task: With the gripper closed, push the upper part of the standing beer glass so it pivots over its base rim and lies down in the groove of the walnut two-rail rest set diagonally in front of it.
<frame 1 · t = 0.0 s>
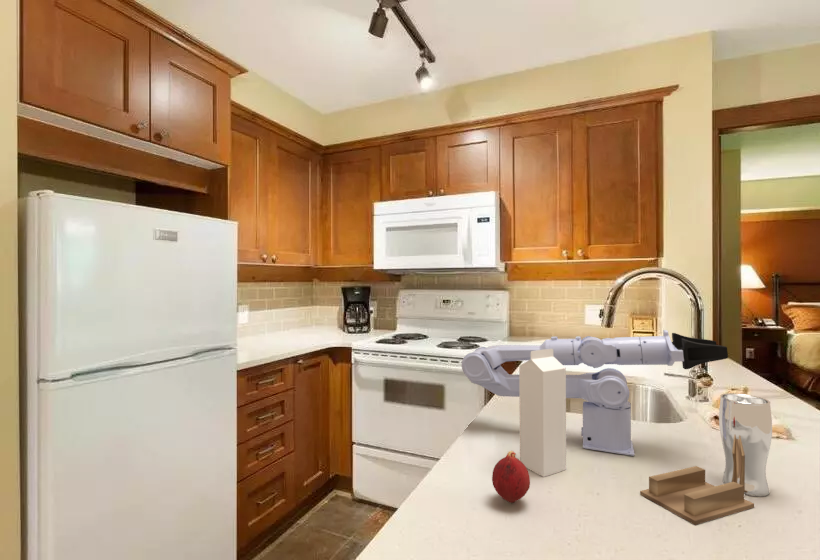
hand: (721, 349, 79), 22 cm above the counter, tool horizontal, fingers open, 7 cm apart
milk: (542, 468, 77), on the counter
beer glass: (745, 488, 69), on the counter
red oval fruit: (510, 503, 65), on the counter
cradle: (695, 500, 65), on the counter
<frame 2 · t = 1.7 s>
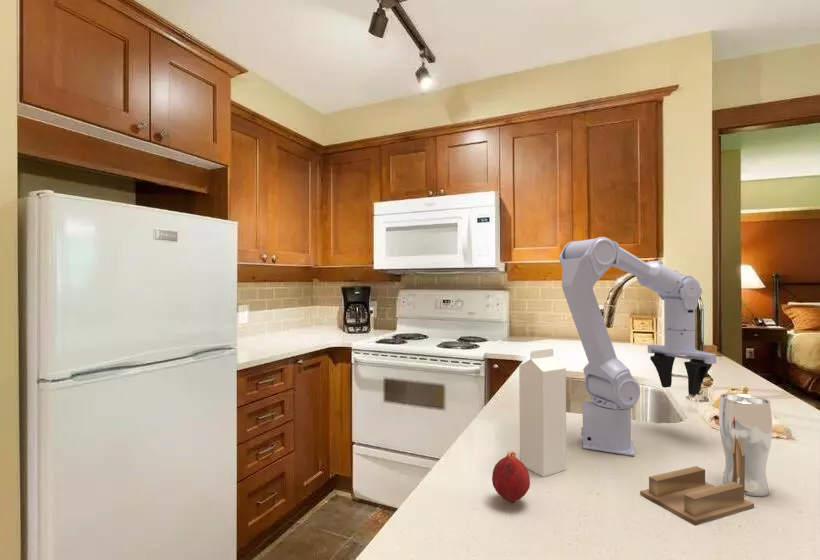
hand: (679, 390, 92), 10 cm above the counter, tool pointing down, fingers open, 6 cm apart
nothing on the counter moved.
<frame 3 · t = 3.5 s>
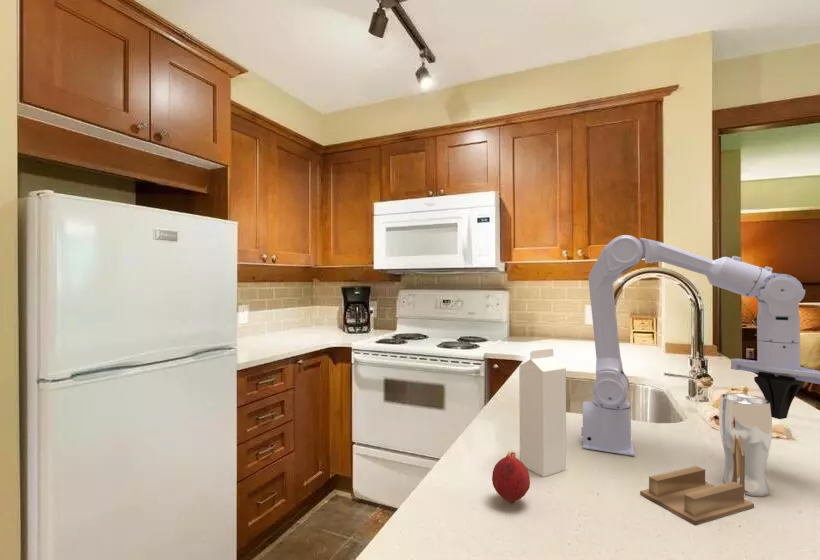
hand: (778, 417, 73), 10 cm above the counter, tool pointing down, fingers closed
nothing on the counter moved.
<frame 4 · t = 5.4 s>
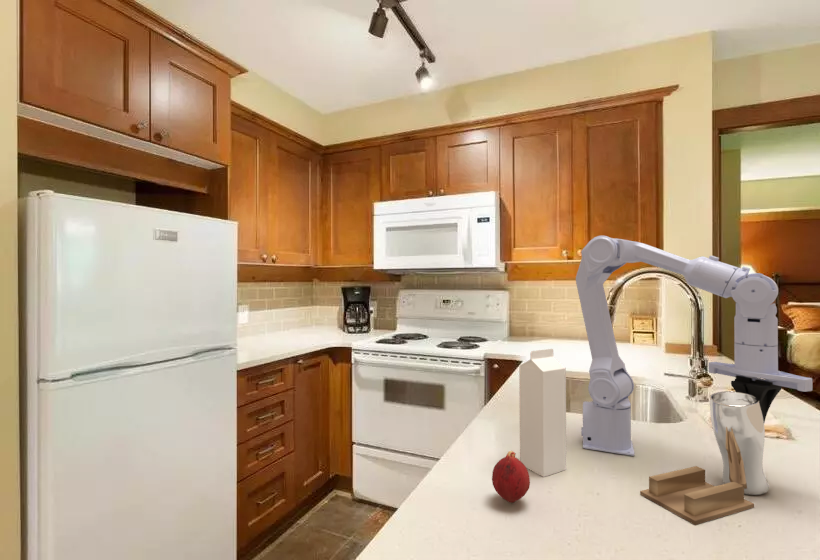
hand: (756, 423, 71), 10 cm above the counter, tool pointing down, fingers closed
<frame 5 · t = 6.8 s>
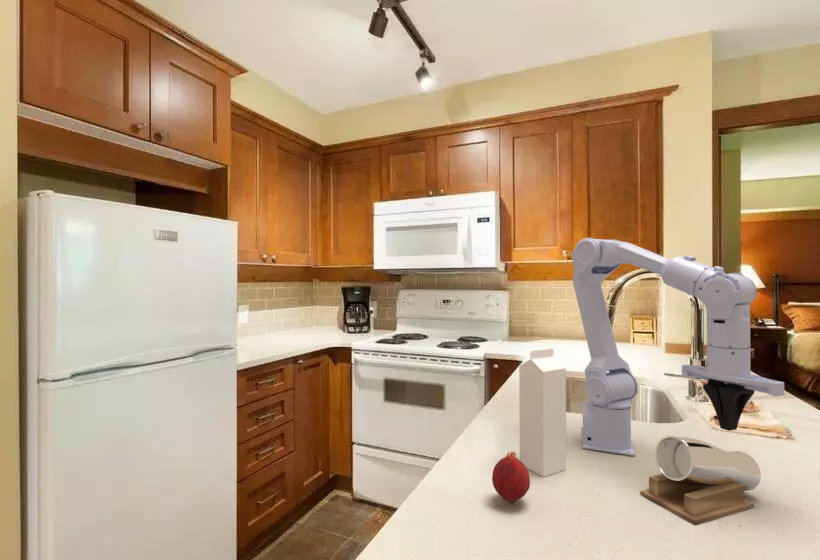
hand: (728, 428, 68), 10 cm above the counter, tool pointing down, fingers closed
beer glass: (741, 470, 69), point 3 cm above the counter, touching cradle
everything else where it was.
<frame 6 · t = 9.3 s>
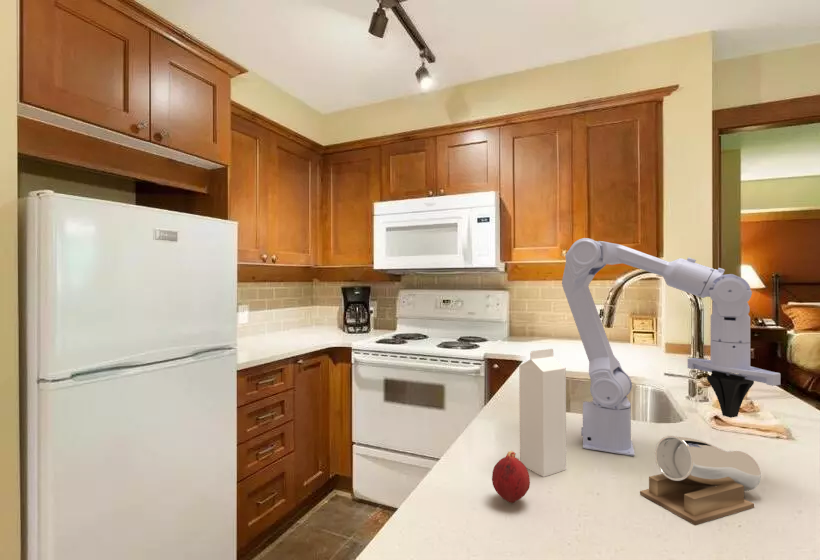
hand: (730, 416, 75), 10 cm above the counter, tool pointing down, fingers closed
nothing on the counter moved.
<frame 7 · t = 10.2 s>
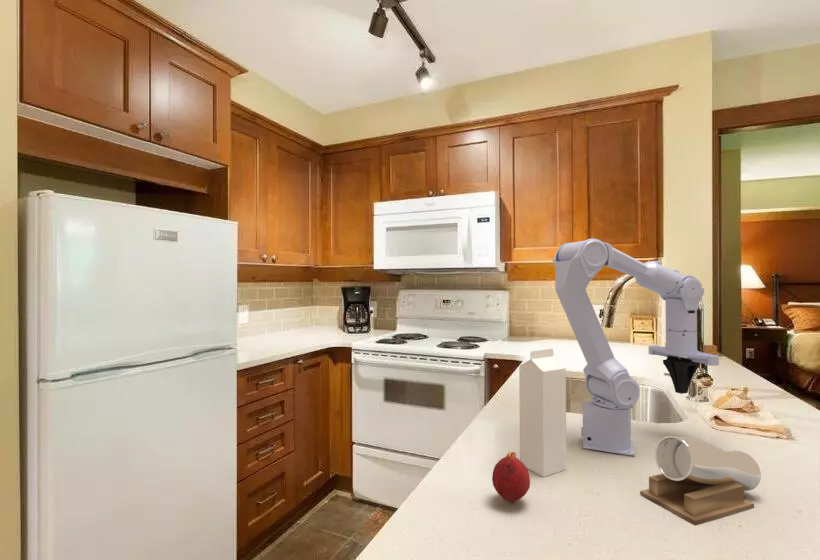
hand: (681, 392, 90), 10 cm above the counter, tool pointing down, fingers closed
nothing on the counter moved.
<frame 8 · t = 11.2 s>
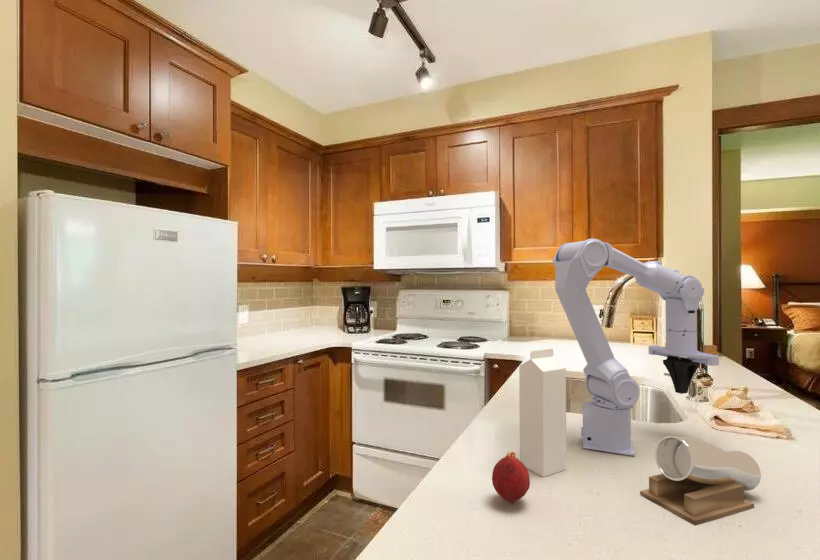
hand: (681, 392, 90), 10 cm above the counter, tool pointing down, fingers closed
nothing on the counter moved.
at the end: beer glass tilted 75°; beer glass inside the target area (6.0 cm from its centre), point 3.2 cm above the counter; beer glass touching cradle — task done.
